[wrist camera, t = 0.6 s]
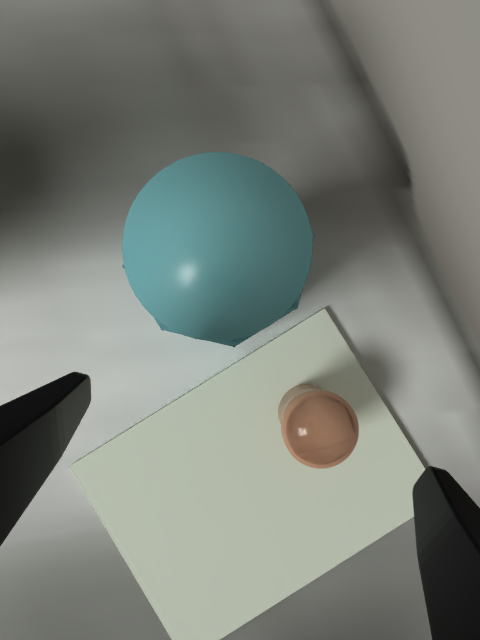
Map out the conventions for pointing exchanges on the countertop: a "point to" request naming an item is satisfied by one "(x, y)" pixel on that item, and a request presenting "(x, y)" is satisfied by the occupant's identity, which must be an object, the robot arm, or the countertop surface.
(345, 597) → the countertop surface
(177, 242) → the teal rounded cylinder
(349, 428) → the terracotta pot
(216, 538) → the sage mat
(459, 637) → the robot arm
